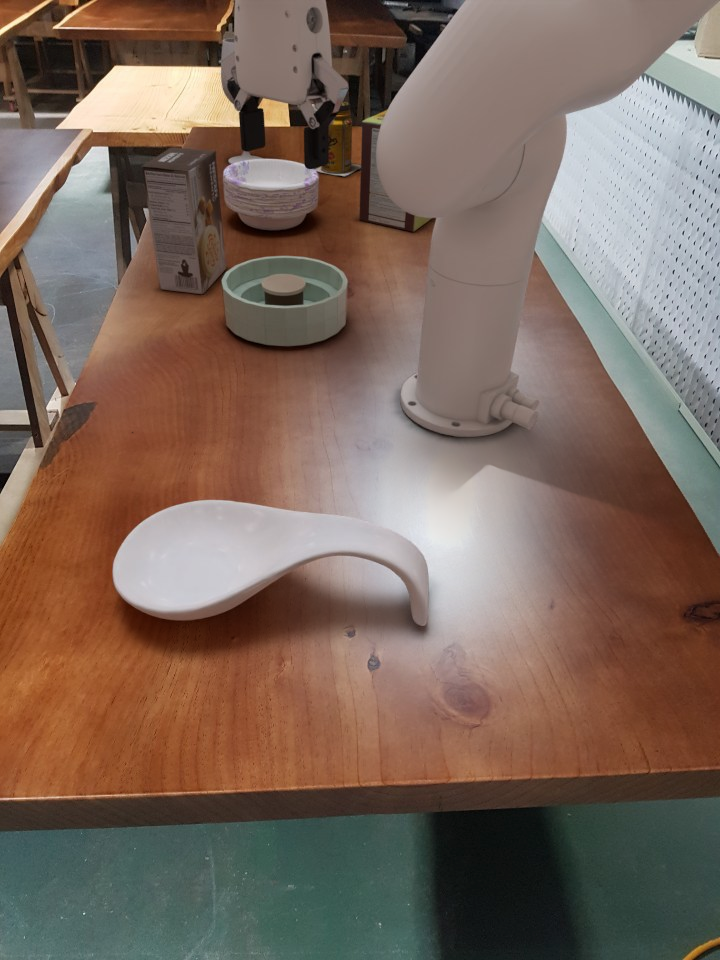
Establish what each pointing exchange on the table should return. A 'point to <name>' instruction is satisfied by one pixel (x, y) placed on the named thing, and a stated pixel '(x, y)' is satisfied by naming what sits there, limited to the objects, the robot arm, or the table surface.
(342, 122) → the condiment
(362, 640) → the table surface
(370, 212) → the protein box
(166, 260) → the coffee box
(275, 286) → the coffee pod
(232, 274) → the bowl
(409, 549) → the spoon rest
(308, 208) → the paper bowls
